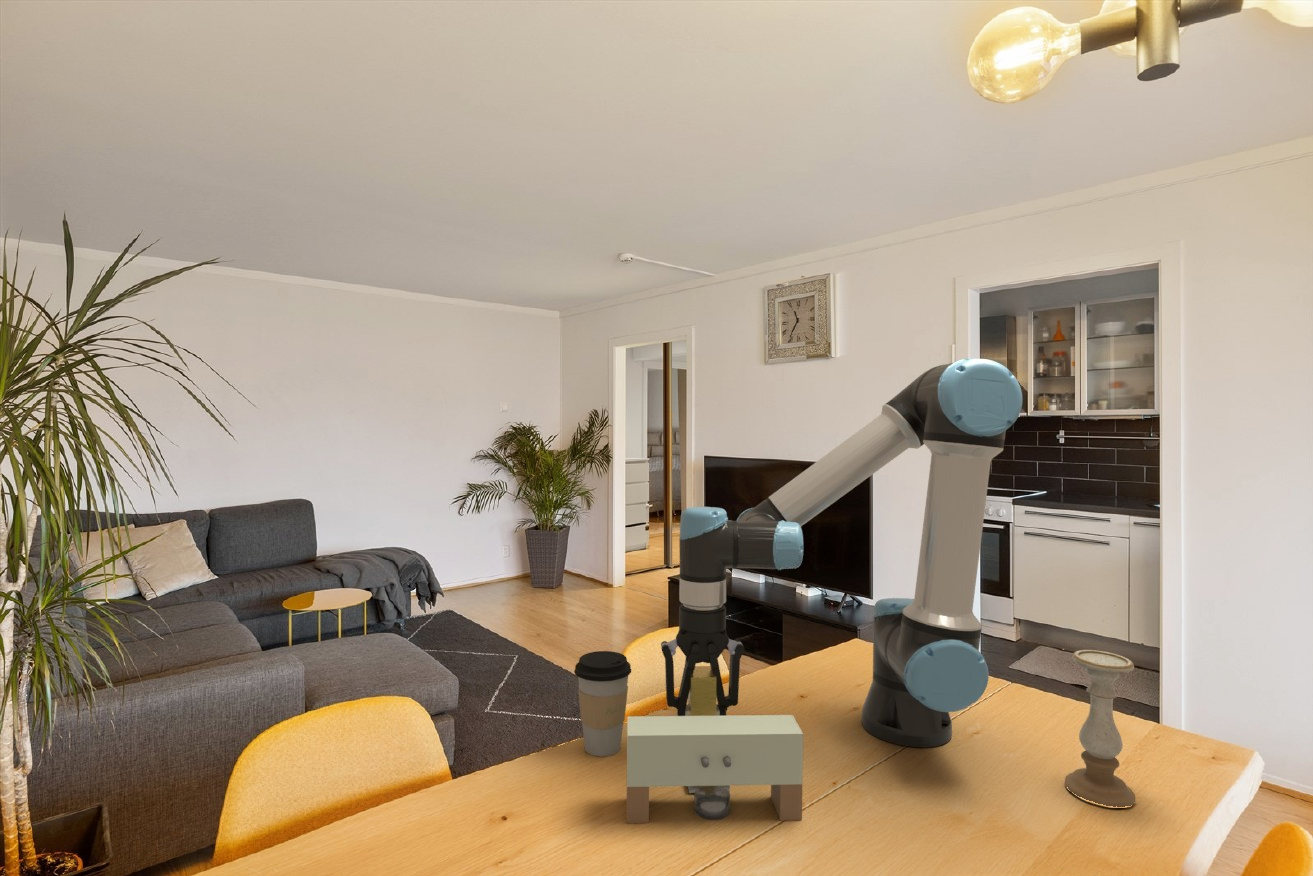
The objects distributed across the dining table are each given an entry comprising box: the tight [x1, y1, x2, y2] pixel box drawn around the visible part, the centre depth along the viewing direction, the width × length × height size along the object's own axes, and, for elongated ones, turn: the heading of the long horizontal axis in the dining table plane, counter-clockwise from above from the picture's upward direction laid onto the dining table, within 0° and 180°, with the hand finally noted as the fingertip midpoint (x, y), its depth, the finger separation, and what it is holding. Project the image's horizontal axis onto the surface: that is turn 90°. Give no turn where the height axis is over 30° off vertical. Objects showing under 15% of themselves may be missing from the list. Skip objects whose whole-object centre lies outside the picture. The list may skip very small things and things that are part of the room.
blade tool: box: [687, 665, 731, 794], centre depth 107 cm, size 6×13×14 cm, turn 3°
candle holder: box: [1064, 649, 1136, 807], centre depth 101 cm, size 9×9×20 cm
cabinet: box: [626, 714, 804, 824], centre depth 96 cm, size 24×7×12 cm, turn 93°
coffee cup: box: [573, 650, 632, 758], centre depth 114 cm, size 9×9×15 cm
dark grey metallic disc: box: [693, 786, 731, 821], centre depth 96 cm, size 5×5×2 cm
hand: (701, 747), depth 111 cm, fingers closed on blade tool, 4 cm apart
